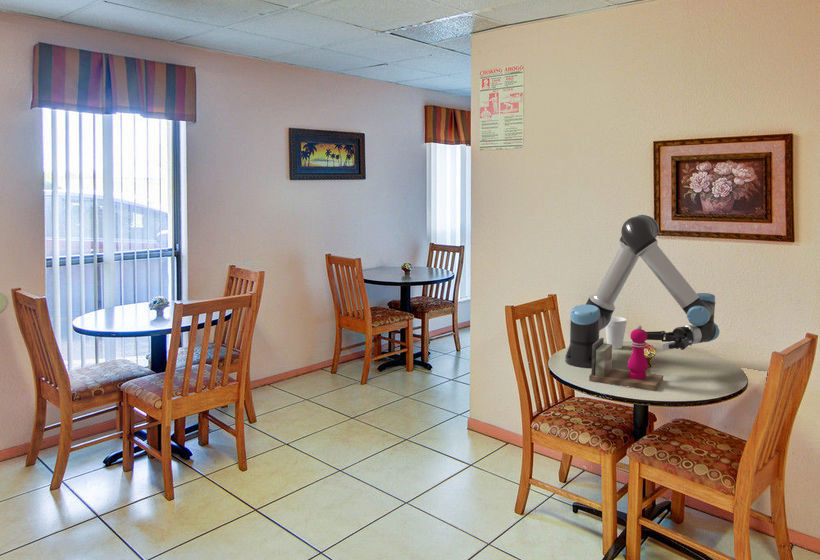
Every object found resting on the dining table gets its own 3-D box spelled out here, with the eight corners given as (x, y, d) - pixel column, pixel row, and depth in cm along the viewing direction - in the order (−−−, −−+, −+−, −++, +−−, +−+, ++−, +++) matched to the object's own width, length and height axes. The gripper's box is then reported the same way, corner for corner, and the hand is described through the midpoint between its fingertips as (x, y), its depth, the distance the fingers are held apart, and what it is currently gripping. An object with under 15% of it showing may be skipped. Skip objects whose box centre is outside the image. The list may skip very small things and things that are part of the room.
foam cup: (608, 343, 295) (608, 315, 293) (628, 346, 289) (629, 318, 287) (601, 348, 287) (601, 319, 285) (621, 350, 282) (622, 322, 280)
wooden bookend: (589, 380, 242) (590, 345, 240) (599, 371, 254) (600, 336, 251) (655, 391, 229) (657, 353, 227) (663, 380, 241) (664, 344, 239)
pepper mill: (623, 374, 242) (625, 323, 239) (642, 373, 243) (644, 322, 240) (632, 380, 235) (634, 327, 232) (650, 379, 236) (653, 326, 233)
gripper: (713, 352, 237) (673, 360, 228) (659, 338, 259) (621, 345, 250) (714, 333, 236) (674, 340, 227) (660, 320, 258) (622, 326, 249)
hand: (646, 343), depth 238 cm, fingers open, 13 cm apart
